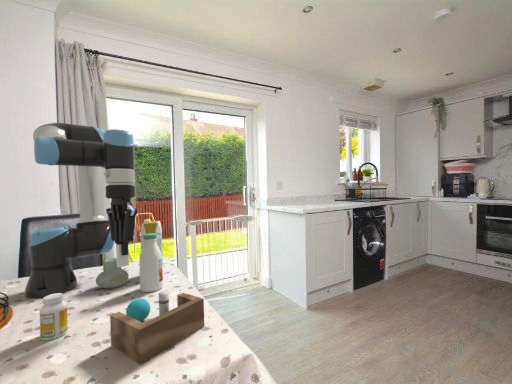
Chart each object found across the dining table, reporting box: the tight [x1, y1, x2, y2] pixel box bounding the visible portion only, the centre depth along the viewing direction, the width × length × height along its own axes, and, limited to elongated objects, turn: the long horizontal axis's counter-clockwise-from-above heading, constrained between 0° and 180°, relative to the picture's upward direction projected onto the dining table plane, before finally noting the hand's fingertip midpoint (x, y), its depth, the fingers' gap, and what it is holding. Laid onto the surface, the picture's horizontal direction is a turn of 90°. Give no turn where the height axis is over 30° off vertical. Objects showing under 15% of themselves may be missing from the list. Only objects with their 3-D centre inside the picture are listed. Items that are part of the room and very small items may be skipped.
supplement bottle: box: [39, 292, 69, 341], centre depth 64 cm, size 5×5×10 cm
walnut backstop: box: [109, 292, 205, 365], centre depth 62 cm, size 12×18×7 cm
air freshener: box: [95, 257, 130, 289], centre depth 98 cm, size 11×8×10 cm
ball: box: [125, 297, 151, 322], centre depth 70 cm, size 6×6×6 cm
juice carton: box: [140, 218, 164, 268], centre depth 108 cm, size 9×8×24 cm
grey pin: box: [158, 290, 170, 316], centre depth 67 cm, size 2×2×8 cm
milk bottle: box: [139, 233, 164, 293], centre depth 94 cm, size 8×8×20 cm
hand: (122, 265), depth 74 cm, fingers closed
